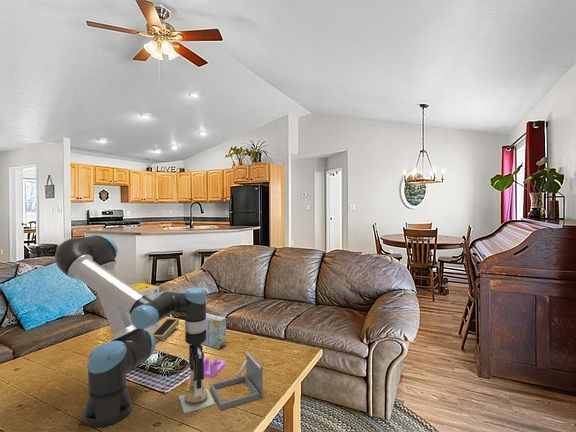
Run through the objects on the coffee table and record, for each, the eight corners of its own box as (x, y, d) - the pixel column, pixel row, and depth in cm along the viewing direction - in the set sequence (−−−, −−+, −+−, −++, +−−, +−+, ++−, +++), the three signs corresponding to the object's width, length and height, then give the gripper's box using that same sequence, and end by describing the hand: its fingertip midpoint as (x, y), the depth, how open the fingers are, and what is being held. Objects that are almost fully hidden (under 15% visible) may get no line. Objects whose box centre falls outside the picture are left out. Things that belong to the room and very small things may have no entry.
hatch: (220, 410, 118) (220, 377, 117) (209, 389, 131) (209, 359, 131) (262, 397, 126) (262, 366, 125) (248, 379, 139) (248, 351, 138)
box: (180, 325, 195) (179, 318, 194) (161, 348, 173) (160, 340, 172) (167, 325, 196) (166, 317, 195) (147, 347, 174) (145, 339, 173)
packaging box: (133, 337, 182) (133, 292, 181) (117, 331, 190) (116, 288, 189) (159, 328, 195) (159, 286, 194) (143, 322, 204) (142, 282, 203)
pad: (184, 413, 116) (184, 412, 116) (178, 397, 125) (178, 396, 125) (215, 404, 121) (215, 403, 121) (207, 389, 131) (207, 388, 131)
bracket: (213, 378, 140) (213, 361, 140) (201, 376, 141) (201, 360, 141) (227, 363, 152) (227, 348, 152) (216, 362, 154) (216, 347, 154)
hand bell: (195, 405, 118) (195, 361, 117) (179, 398, 122) (179, 355, 121) (212, 394, 125) (212, 352, 124) (197, 387, 129) (196, 347, 128)
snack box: (226, 346, 171) (226, 317, 170) (219, 350, 166) (219, 320, 165) (198, 337, 182) (198, 310, 181) (190, 340, 177) (190, 313, 177)
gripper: (212, 337, 116) (213, 402, 116) (200, 320, 132) (200, 376, 133) (191, 341, 112) (191, 408, 113) (180, 323, 129) (181, 381, 130)
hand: (196, 391), depth 123 cm, fingers closed on hand bell, 6 cm apart
